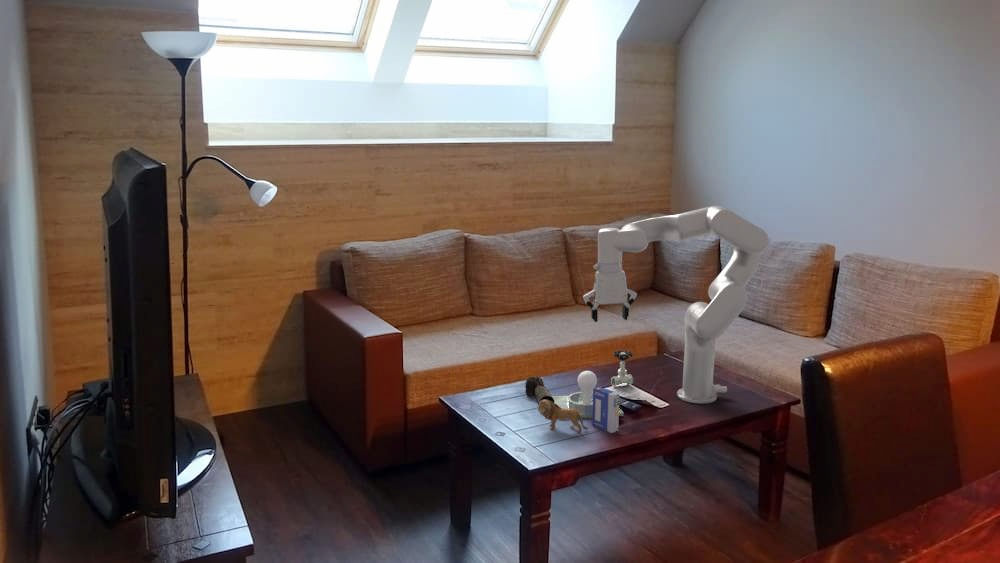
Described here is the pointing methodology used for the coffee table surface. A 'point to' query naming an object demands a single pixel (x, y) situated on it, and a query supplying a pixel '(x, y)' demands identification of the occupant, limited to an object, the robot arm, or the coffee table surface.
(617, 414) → the walkman
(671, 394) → the coffee table surface
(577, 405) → the duct collar
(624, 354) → the valve
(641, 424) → the coffee table surface
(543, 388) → the brown camo elongated piece
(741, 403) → the coffee table surface
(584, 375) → the lightbulb
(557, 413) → the lion figurine
